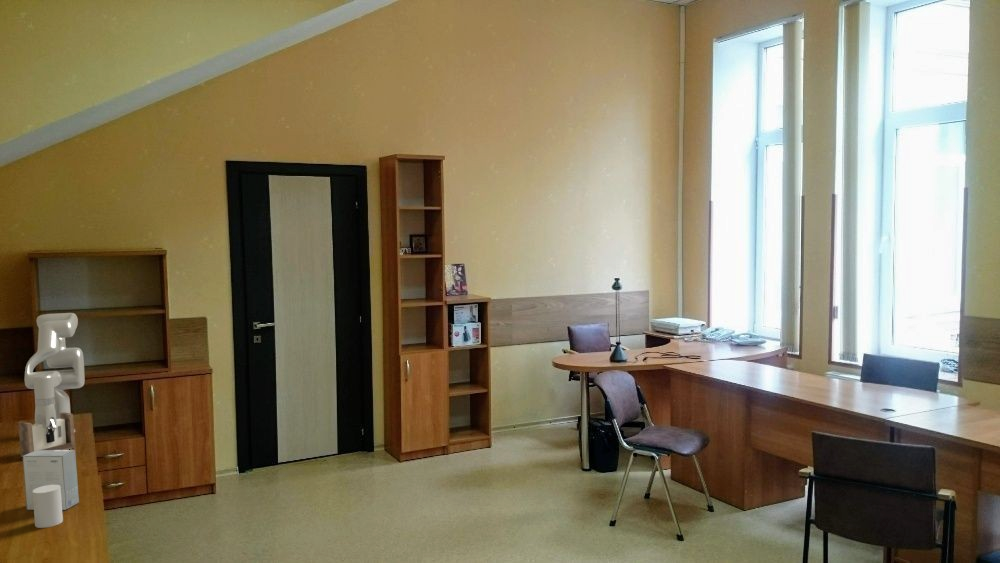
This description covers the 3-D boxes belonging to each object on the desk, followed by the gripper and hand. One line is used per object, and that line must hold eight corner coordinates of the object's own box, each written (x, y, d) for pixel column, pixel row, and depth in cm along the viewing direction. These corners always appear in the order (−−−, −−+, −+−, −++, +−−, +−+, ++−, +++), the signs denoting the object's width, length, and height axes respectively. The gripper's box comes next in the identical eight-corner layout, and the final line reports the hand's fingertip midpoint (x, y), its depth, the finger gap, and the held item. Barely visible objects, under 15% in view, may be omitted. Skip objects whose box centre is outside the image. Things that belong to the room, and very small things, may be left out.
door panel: (29, 451, 332) (27, 425, 331) (61, 443, 344) (59, 418, 343) (34, 453, 330) (32, 426, 329) (66, 445, 341) (65, 419, 340)
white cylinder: (42, 519, 257) (40, 485, 257) (67, 517, 258) (65, 484, 257) (30, 528, 249) (27, 493, 248) (55, 527, 250) (52, 492, 249)
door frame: (21, 457, 331) (18, 422, 330) (65, 445, 347) (63, 412, 346) (30, 460, 326) (27, 424, 325) (75, 448, 343) (73, 414, 342)
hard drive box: (80, 502, 272) (76, 449, 271) (65, 510, 265) (62, 456, 263) (40, 502, 274) (36, 449, 272) (25, 510, 266) (21, 455, 265)
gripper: (26, 401, 336) (29, 441, 338) (46, 405, 328) (49, 446, 329) (44, 398, 343) (46, 437, 344) (63, 401, 334) (66, 441, 335)
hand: (47, 441), depth 337 cm, fingers closed on door panel, 4 cm apart
